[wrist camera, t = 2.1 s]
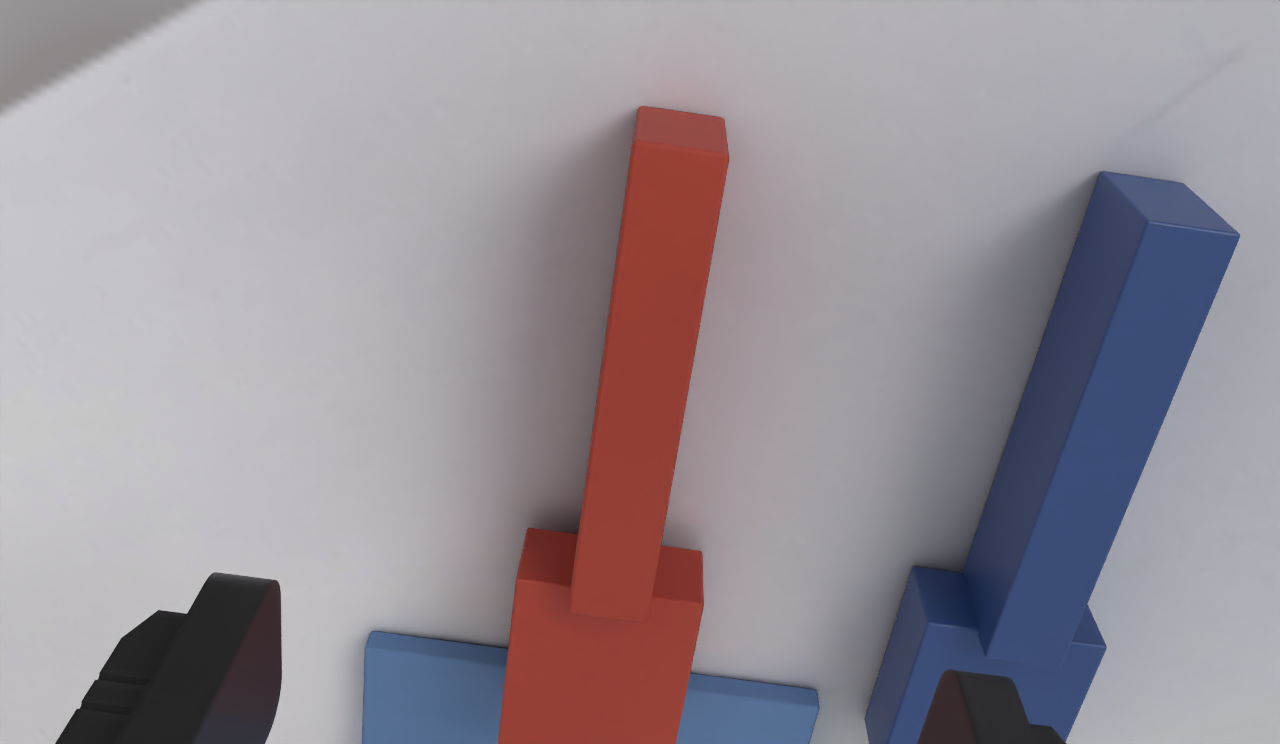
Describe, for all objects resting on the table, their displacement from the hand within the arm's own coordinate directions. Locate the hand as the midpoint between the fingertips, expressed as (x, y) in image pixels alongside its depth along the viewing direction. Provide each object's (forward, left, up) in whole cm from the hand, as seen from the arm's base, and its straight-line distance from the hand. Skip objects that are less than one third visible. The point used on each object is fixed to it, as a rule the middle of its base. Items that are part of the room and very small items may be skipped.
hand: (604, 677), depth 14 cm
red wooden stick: (+2, 0, -9) cm, 9 cm away
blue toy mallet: (+2, +8, -9) cm, 12 cm away
